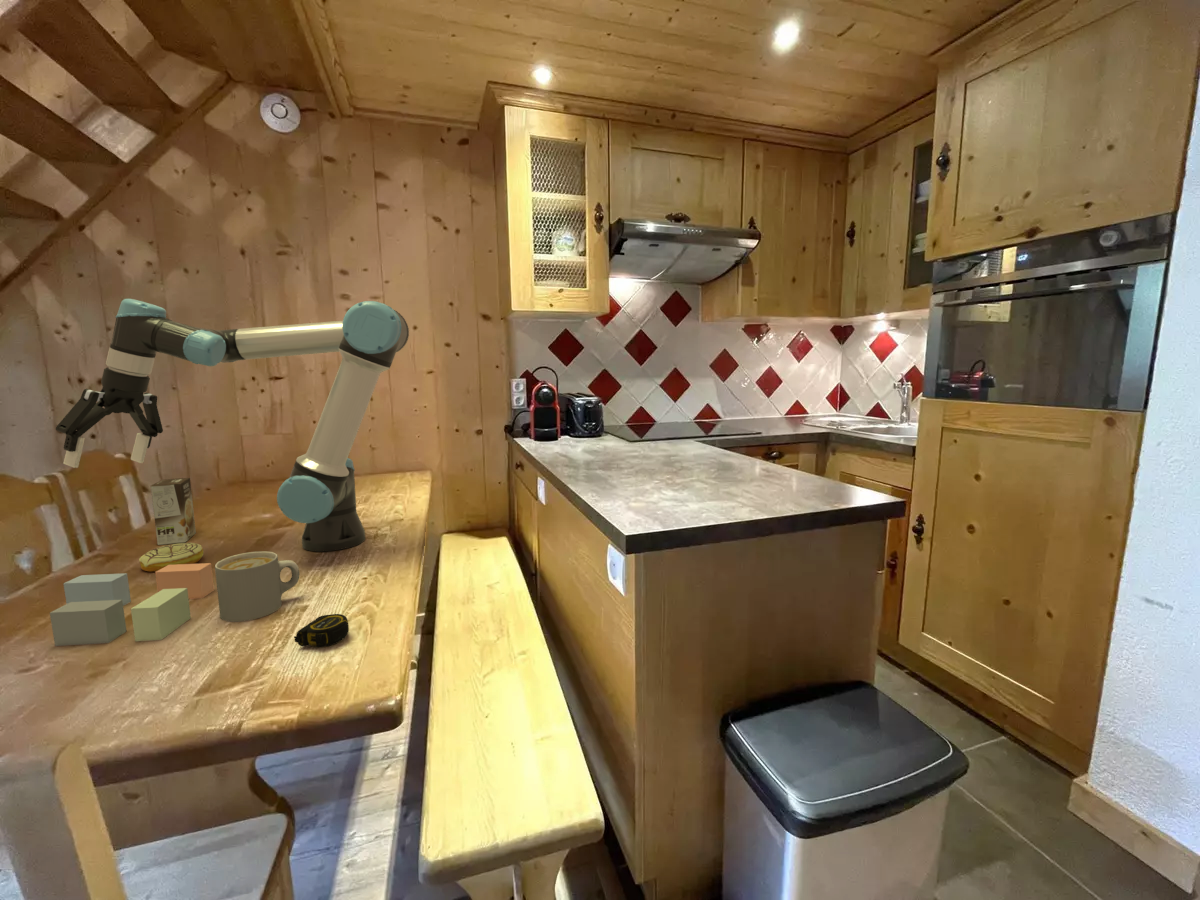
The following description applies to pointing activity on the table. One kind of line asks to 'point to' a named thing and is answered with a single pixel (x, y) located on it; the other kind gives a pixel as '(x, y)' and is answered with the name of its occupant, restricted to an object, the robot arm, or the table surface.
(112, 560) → the table surface
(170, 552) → the decorated donut
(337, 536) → the robot arm
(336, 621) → the tape measure
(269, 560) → the coffee mug
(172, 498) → the coffee box
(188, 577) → the brick terracotta
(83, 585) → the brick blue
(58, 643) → the brick slate
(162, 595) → the brick sage
